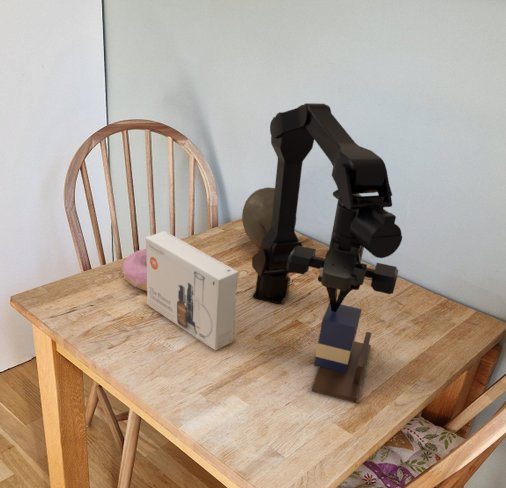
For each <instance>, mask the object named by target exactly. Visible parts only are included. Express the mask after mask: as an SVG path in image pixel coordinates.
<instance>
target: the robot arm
mask: <svg viewBox="0 0 506 488" xmlns="http://www.w3.org/2000/svg"><path fill="white" fill-rule="evenodd" d="M269 125H270V126H269V132H270V144H271V146H272V148H273V151H274V152H275V154H276V157H277V164H276V172H275V173H276V174H275V183H274V188H275V193H274V203H273V214H272V224H271V228H270V229H269V231H268V232H267V233H266V235H265V236H264V237H263V239H262V244H261V248H260V249H259V251H257V252H256V253H255V254H254V255H253V256H251V267H252V269H253V270H254V271H255V272H256V274H257V276H256V284H255V291H254V292H253V295H252V298H254V299H257V300H261V301H266V302H269V303H274V304H278V305H281V304H282V303H283V302H284V300H285V299H286V298H287V296H288V295H289V293H290V292H289V291H290V284H291V277H290V276H289V274H299V275H305V274H306V273H308V272H309V270H310V268H314V269H318V271H319V275H318V277H317V281H318V283H321V285H322V286H323V287H325V289H326V292H327V294H328V300H329V303H330V306H331V311H332V312H336V311H337V310H338V308H339V306H340V305H342V303H343V302H344V300H345V298H346V297H347V296H348V294H349V293H350V292H351V291H359V290H360V289H361V288H360V287H361V286H362V285H364V281H365V280H368V281H371V282H370V287H371V288H372V290H373V291H374V292H378V293H382V294H387V295H391V294H394V291H395V289H396V283H397V278H398V274H399V269H398V267H397V266H395V265H389V264H385V263H380V262H376V265H375V268H369V267H368V264H366V263H362V259H363V254H364V249H365V250H366V251H368V253H370V254H371V255H372V256H373V257H375V258H376V259H377V258H378V259H384V258H385V259H386V258H388V257H390V256H391V255H393V254H394V253H396V252H397V250H398V248H399V247H400V245H401V243H402V241H403V233H402V230H401V227H400V226H399V225H398V224H396V219H397V217H396V215H395V214H394V213H392V212H389V211H387V210H386V209H385V208H391V207H392V206H393V200H392V196H393V192H392V188H391V185H390V180H389V177H388V170H387V166H386V163H385V162H384V160H383V158H382V157H380V156H379V155H378V154H377V153H376V152H374V151H372V150H371V149H368V148H366V147H363V146H360V145H359V144H357V142H355V140H354V139H353V138H352V137H351V135H350V134H349V133H348V132H347V130H346V129H345V128H344V127H343V126H342V124H341V123H340V122H339V120H337V118H336V117H335V116H334V114H333V113H332V110H331V107H330V106H329V105H328V104H326V103H315V102H313V103H308V102H307V103H303V104H301V105H299V106H297V107H296V108H292V109H289V110H286V111H282V112H281V111H280V112H278V113H276V115H275V116H274V117H272V119H271V121H270V124H269ZM315 142H316V144H317V145H318V147H319V148H320V149H321V151H322V153H324V155H325V156H326V157H327V158H328V160H329V161H330V162H331V165H332V171H331V177H332V180H333V181H334V183H335V185H336V188H337V189H336V190H334V191H333V192H332V196H333V197H334V198H335V199H336V200H337V203H336V208H335V209H336V210H335V215H334V219H333V225H332V230H331V231H332V232H331V237H330V242H329V248H328V250H327V251H326V253H325V257H319V256H317V255H316V254H317V249H316V248H311V247H307V246H303V243H302V242H301V241H300V240H299V238H298V236H297V234H296V225H295V222H296V223H297V214H298V213H297V212H298V203H299V195H300V188H301V187H300V186H301V180H302V179H301V178H302V170H303V162H304V160H306V158H307V157H308V155H309V154H310V152H311V151H312V149H313V148H314V143H315ZM375 193H377V194H378V195H364V194H375ZM361 194H363V195H361ZM338 290H339V293H338Z"/></svg>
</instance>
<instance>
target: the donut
mask: <svg viewBox="0 0 506 488" xmlns="http://www.w3.org/2000/svg"><path fill="white" fill-rule="evenodd" d="M121 270H122V272H123V279H124V280H125V281H126V282H128V283H129V284H130V285H132V286H133V287H135V288H137V289H140V290H142V291H146V292H147V257H146V248H145V249H139V250H136V251H134V252H132V253H131V254H129V255H128V257H126V259H125V260H124V261H123V263H122V266H121Z"/></svg>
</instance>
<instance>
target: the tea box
mask: <svg viewBox="0 0 506 488" xmlns="http://www.w3.org/2000/svg"><path fill="white" fill-rule="evenodd" d="M361 314H362V308H359V307H354V306H350V305H345V304H341V305H340V306H339V308H338V310H337V311H336V312H332V311H331V306H330V302H329V303H328V306H327V308H326V310H325V313H324V315H323V318H322V320H321V325H320V332H319V337H318V341H317V345H316V352H315V357H314V363H313V366H316V367H319V368H320V367H323V368H327V369H330V370H334V371H338V372H342V373H346V371H347V367H348V364H349V361H350V358H351V354H352V350H353V346H354V341H356V336H357V332H358V328H359V323H360V319H361Z"/></svg>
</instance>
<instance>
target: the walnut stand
mask: <svg viewBox="0 0 506 488" xmlns="http://www.w3.org/2000/svg"><path fill="white" fill-rule="evenodd" d="M371 336H372V332H369V331H366V332H365V335H364V339H363V342H359V341H356V340H355V341H354V346H353V350H352V354H351V358H350V361H349V364H348V367H347V371H346V373H342V372H338V371H334V370H330V369H327V368H323V367H319V368H318V371H317V373H316V376H315V379H314V382H313V384H312V387H311V392H313V393H317V394H320V395H325V396H327V397H332V398H336V399H339V400H344V401H347V402H351V403H355V404H357V401H358V397H359V394H360V389H361V386H362V383H363V382H362V381H363V378H364V374H365V369H366V365H367V362H368V357H369V354H370V351H371V346H372V345H371V344H370V340H371Z"/></svg>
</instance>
